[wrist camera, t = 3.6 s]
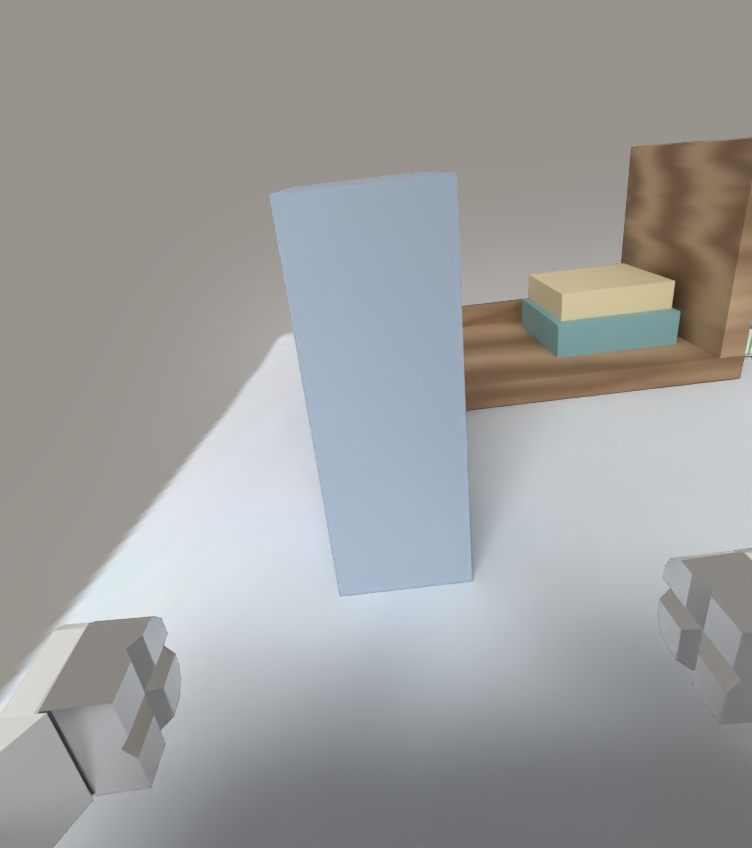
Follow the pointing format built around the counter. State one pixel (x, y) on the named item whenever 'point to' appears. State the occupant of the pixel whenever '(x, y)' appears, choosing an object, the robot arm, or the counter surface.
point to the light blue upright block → (383, 372)
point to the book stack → (600, 310)
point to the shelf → (654, 252)
